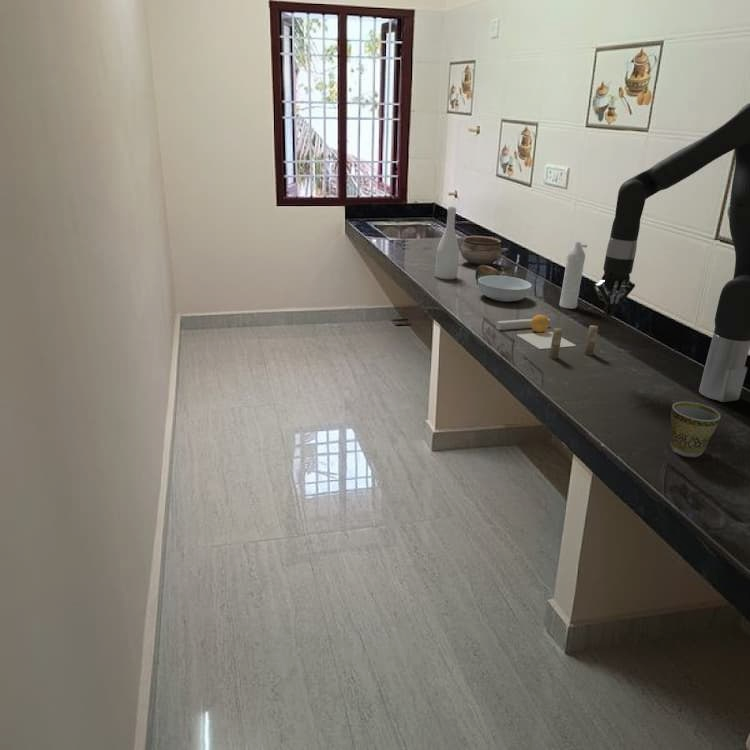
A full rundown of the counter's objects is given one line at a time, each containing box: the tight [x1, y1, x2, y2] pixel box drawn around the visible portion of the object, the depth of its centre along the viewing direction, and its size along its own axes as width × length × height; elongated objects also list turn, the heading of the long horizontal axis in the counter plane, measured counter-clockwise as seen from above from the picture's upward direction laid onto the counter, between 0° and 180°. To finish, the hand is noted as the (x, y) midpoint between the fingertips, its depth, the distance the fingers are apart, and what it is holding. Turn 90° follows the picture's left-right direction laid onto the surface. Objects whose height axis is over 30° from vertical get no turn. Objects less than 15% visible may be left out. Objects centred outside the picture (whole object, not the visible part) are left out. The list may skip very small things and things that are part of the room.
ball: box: [531, 314, 550, 333], centre depth 227 cm, size 6×6×6 cm
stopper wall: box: [495, 317, 551, 331], centre depth 232 cm, size 2×20×2 cm, turn 111°
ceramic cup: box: [669, 401, 721, 458], centre depth 152 cm, size 13×10×10 cm
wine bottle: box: [434, 206, 460, 281], centre depth 287 cm, size 10×10×30 cm
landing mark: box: [516, 331, 577, 350], centre depth 220 cm, size 14×14×1 cm
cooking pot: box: [458, 235, 509, 268], centre depth 316 cm, size 25×19×12 cm
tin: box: [475, 265, 501, 284], centre depth 280 cm, size 15×3×8 cm, turn 25°
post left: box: [548, 327, 563, 360], centre depth 204 cm, size 3×3×9 cm
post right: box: [584, 324, 599, 356], centre depth 209 cm, size 3×3×9 cm
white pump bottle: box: [559, 241, 588, 310], centre depth 254 cm, size 9×6×25 cm
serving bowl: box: [477, 275, 533, 303], centre depth 264 cm, size 21×21×7 cm
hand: (608, 315), depth 190 cm, fingers closed
